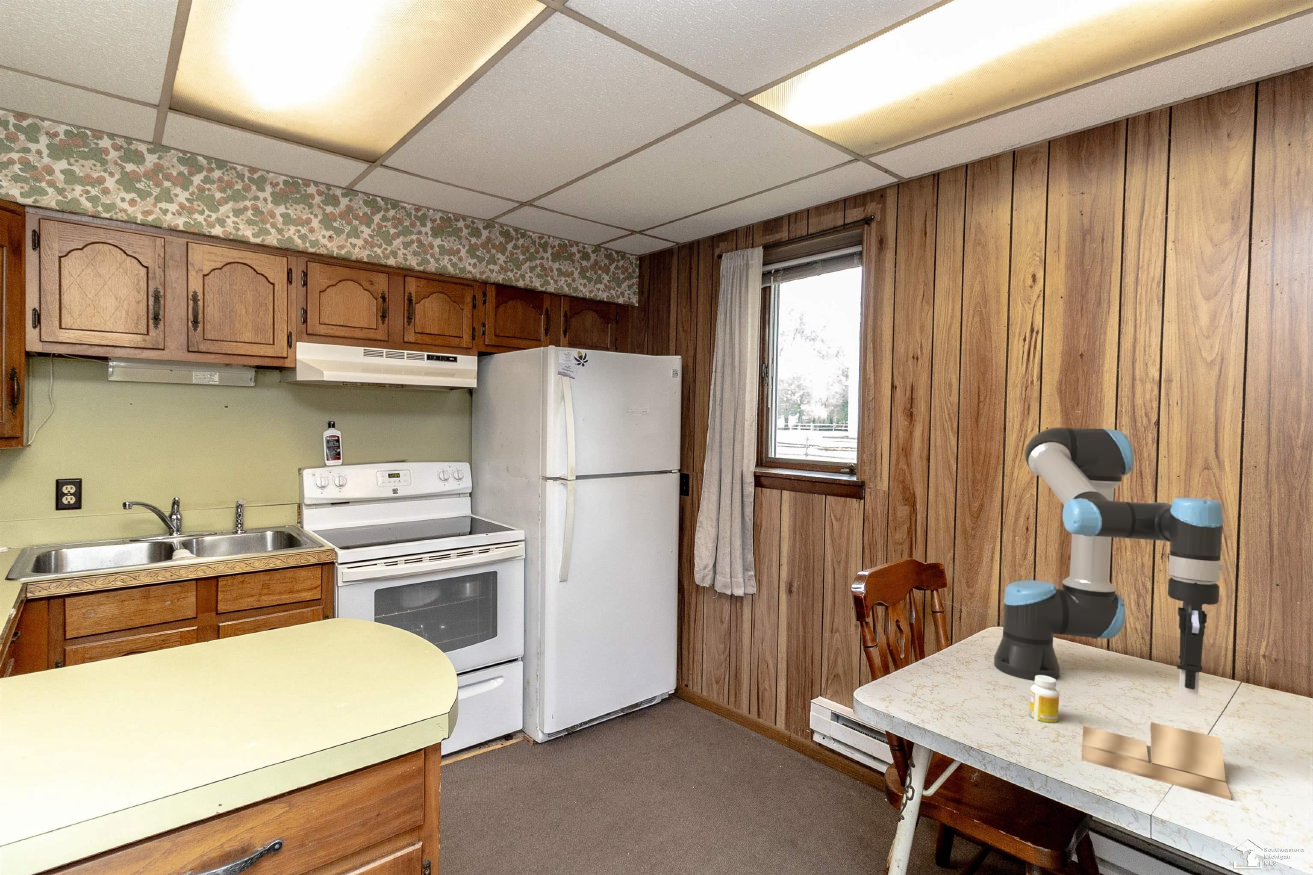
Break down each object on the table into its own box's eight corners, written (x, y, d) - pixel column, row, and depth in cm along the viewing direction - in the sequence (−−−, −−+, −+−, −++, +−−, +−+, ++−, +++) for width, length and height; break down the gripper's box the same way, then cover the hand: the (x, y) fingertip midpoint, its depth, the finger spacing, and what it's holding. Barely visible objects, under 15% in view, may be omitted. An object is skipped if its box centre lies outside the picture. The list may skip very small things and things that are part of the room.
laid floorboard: (1081, 763, 124) (1081, 756, 124) (1081, 752, 129) (1082, 745, 129) (1230, 804, 112) (1231, 796, 112) (1225, 790, 117) (1225, 782, 117)
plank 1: (1081, 750, 129) (1082, 743, 129) (1082, 732, 137) (1083, 725, 137) (1148, 768, 124) (1148, 760, 124) (1145, 747, 131) (1145, 741, 131)
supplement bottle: (1023, 718, 144) (1025, 675, 144) (1039, 714, 146) (1041, 672, 146) (1047, 729, 139) (1049, 684, 139) (1063, 725, 141) (1065, 681, 141)
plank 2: (1151, 767, 124) (1152, 762, 123) (1150, 726, 130) (1150, 721, 129) (1224, 786, 118) (1225, 781, 117) (1219, 742, 124) (1220, 737, 123)
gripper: (1225, 588, 117) (1218, 720, 117) (1214, 577, 128) (1208, 698, 128) (1171, 582, 121) (1165, 709, 121) (1165, 571, 132) (1160, 688, 132)
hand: (1187, 703), depth 125 cm, fingers closed
